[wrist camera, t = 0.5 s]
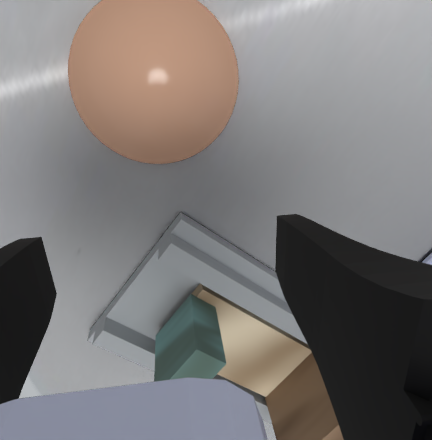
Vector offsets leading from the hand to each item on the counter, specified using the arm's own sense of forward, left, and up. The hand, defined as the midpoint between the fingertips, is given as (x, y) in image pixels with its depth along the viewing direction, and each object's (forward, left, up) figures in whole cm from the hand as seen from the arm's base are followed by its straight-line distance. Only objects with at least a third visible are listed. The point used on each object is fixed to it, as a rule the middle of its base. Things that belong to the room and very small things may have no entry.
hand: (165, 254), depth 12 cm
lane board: (-12, +7, -10) cm, 17 cm away
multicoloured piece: (-13, +7, -8) cm, 17 cm away
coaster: (+3, -3, -10) cm, 10 cm away
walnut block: (-17, +7, -8) cm, 20 cm away
